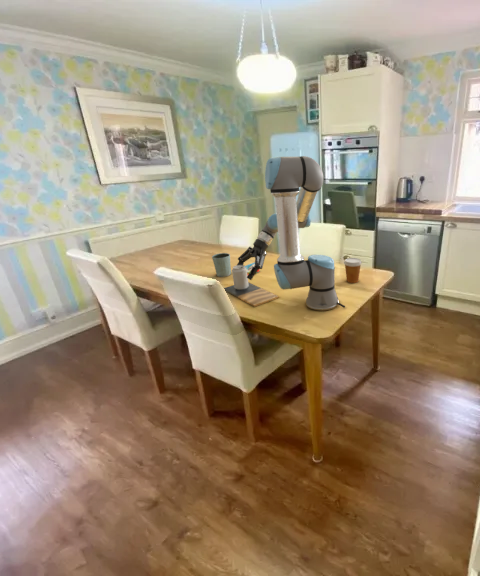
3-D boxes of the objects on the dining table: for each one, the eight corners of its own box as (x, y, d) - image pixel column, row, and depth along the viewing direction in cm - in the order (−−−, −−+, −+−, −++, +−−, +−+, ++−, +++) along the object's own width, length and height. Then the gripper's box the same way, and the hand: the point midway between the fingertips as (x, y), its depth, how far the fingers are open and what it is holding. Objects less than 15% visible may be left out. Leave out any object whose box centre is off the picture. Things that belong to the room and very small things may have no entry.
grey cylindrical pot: (234, 271, 196) (232, 253, 191) (228, 277, 187) (226, 258, 182) (219, 271, 197) (216, 253, 192) (212, 277, 188) (209, 258, 183)
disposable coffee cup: (364, 280, 176) (365, 259, 172) (354, 285, 170) (354, 264, 166) (351, 276, 183) (351, 256, 178) (340, 281, 176) (340, 260, 172)
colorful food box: (258, 271, 196) (257, 261, 194) (259, 271, 195) (258, 261, 193) (243, 276, 187) (242, 266, 185) (245, 277, 186) (243, 267, 184)
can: (245, 291, 165) (242, 269, 160) (232, 290, 166) (228, 268, 161) (251, 285, 171) (248, 264, 167) (238, 284, 173) (235, 263, 168)
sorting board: (278, 297, 158) (278, 296, 158) (254, 307, 149) (254, 305, 149) (246, 282, 178) (246, 281, 178) (223, 290, 169) (223, 288, 169)
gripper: (281, 250, 165) (260, 285, 161) (254, 242, 181) (234, 273, 178) (272, 242, 159) (249, 278, 155) (245, 234, 176) (224, 267, 172)
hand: (241, 275), depth 167 cm, fingers open, 13 cm apart
